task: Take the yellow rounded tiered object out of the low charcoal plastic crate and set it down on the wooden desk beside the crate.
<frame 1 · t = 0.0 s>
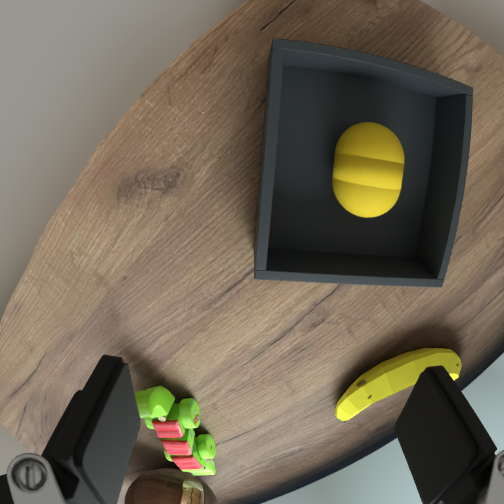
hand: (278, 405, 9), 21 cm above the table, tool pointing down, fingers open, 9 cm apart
toy crocodile: (183, 421, 38), on the table
yellow rounded tiered object: (357, 166, 26), point 1 cm above the table, touching crate
wooden sphere: (178, 473, 43), on the table
banana: (398, 385, 36), on the table
crate: (354, 165, 27), on the table
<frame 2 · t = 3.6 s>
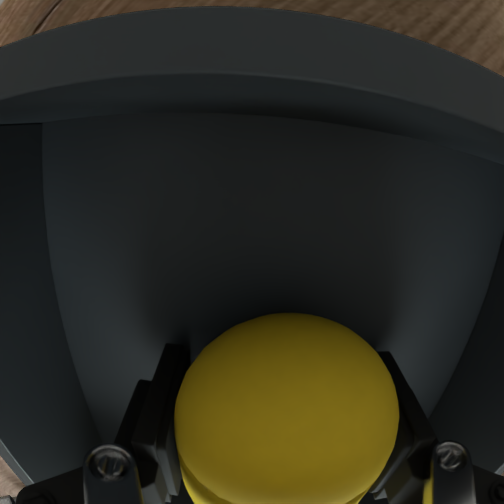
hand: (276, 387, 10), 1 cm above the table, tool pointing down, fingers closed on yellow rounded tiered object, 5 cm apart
yellow rounded tiered object: (275, 377, 10), point 1 cm above the table, touching crate, gripper
crate: (274, 362, 11), on the table
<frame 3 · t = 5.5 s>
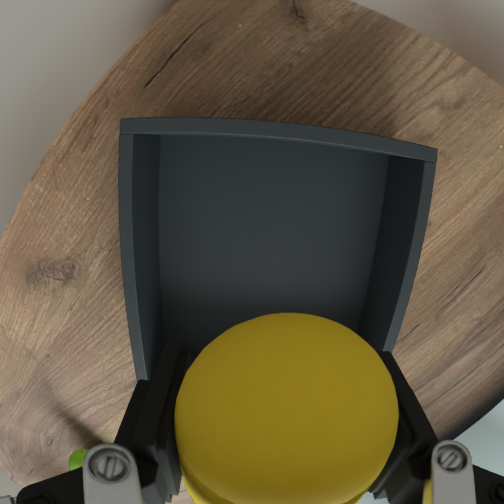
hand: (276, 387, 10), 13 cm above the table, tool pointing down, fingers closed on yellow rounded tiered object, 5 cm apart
toy crocodile: (127, 474, 33), on the table
yellow rounded tiered object: (275, 377, 10), point 13 cm above the table, touching gripper
crate: (267, 256, 22), on the table
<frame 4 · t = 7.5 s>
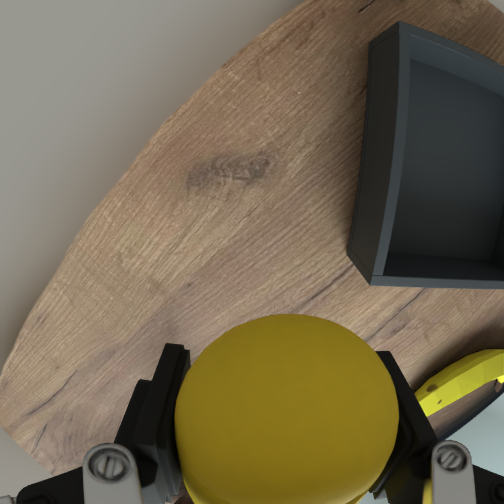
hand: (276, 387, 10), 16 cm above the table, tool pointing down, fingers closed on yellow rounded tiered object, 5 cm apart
yellow rounded tiered object: (275, 378, 10), point 16 cm above the table, touching gripper
wooden sphere: (219, 490, 39), on the table
banana: (456, 387, 32), on the table
crate: (447, 164, 23), on the table
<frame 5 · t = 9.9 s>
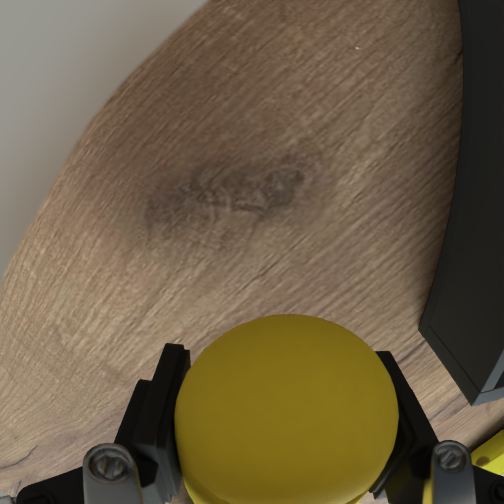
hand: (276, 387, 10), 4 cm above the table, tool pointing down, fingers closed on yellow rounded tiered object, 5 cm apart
yellow rounded tiered object: (275, 378, 10), point 4 cm above the table, touching gripper
banana: (501, 446, 21), on the table
when the fingers open (1 cm above the table, at t = 11.5 s): yellow rounded tiered object stays where it is, on the table.
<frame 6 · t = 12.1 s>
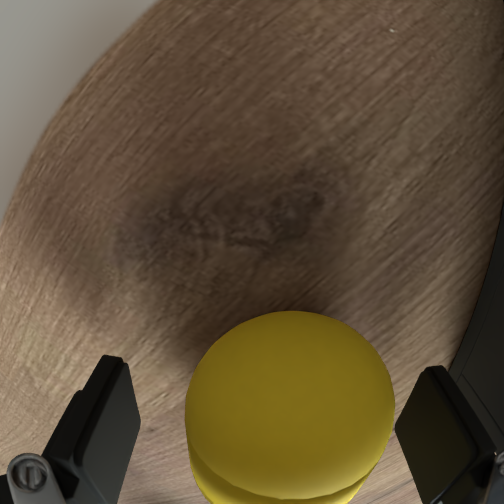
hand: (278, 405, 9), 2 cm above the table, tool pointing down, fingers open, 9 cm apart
yellow rounded tiered object: (275, 373, 11), on the table
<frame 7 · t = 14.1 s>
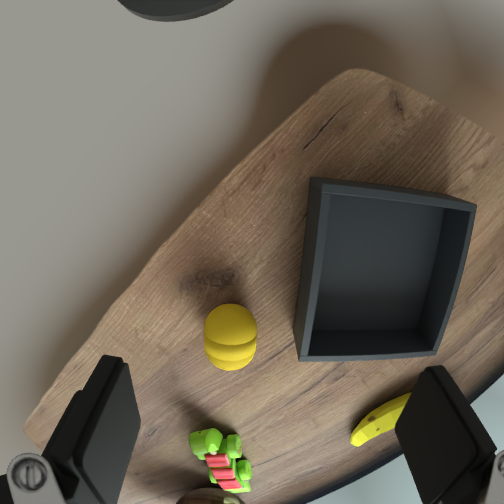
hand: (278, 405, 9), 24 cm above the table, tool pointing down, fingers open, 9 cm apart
toy crocodile: (225, 451, 44), on the table
yellow rounded tiered object: (226, 324, 36), on the table, tilted 12°
wooden sphere: (214, 491, 49), on the table
banana: (401, 416, 42), on the table
crate: (374, 264, 34), on the table
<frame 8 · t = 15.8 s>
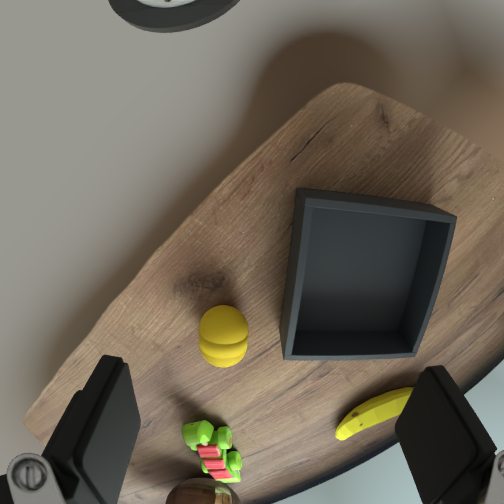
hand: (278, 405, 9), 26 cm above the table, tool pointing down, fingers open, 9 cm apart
toy crocodile: (216, 442, 47), on the table
yellow rounded tiered object: (217, 323, 38), on the table, tilted 20°
wooden sphere: (206, 481, 53), on the table
banana: (384, 413, 45), on the table
crate: (357, 269, 36), on the table
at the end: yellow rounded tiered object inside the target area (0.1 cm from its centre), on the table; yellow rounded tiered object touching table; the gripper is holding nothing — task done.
